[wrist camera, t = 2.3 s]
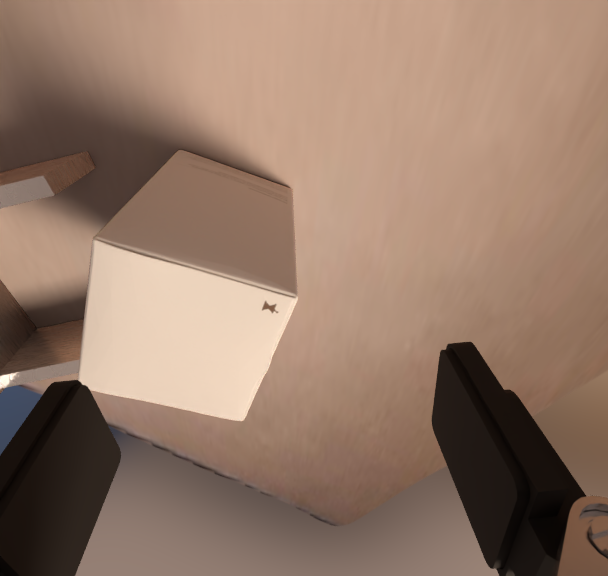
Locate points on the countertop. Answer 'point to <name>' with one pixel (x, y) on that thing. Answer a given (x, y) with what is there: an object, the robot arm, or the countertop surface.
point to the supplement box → (191, 289)
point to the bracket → (3, 307)
